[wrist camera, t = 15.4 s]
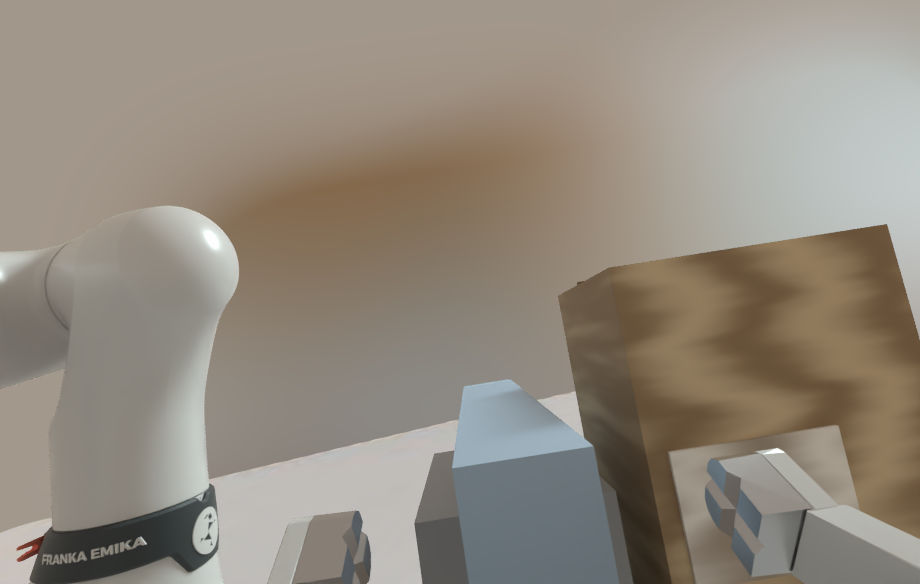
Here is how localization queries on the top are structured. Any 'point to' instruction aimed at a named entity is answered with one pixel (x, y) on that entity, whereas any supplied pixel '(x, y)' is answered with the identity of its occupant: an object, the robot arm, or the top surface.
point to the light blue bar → (527, 493)
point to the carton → (747, 387)
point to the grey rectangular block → (444, 536)
